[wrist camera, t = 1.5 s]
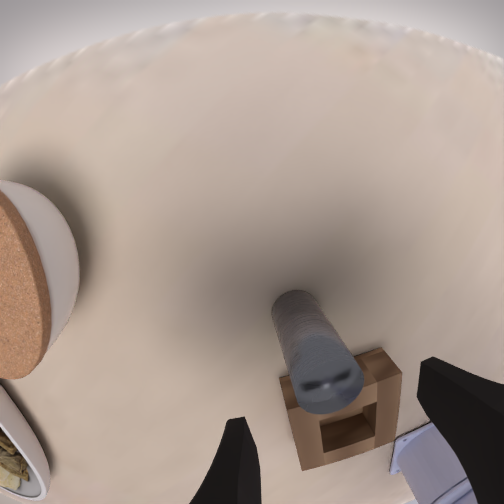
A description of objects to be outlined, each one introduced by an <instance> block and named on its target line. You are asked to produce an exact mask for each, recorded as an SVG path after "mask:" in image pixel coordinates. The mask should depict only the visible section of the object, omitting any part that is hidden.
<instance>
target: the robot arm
mask: <svg viewBox="0 0 504 504" xmlns="http://www.w3.org/2000/svg"><path fill="white" fill-rule="evenodd" d="M417 398H418V400H419V402H420V404H421V406H422V408H423V409H424V411H425V413H426V415H427V416H428V417H429V419H430V420H431V421H432V422H431V423H429V424H427V425H425V426H423V427H421V428H419V429H417V430H415V431H413V432H410V433H408V434H406V435H404V436H402V437H399V438H398V439H397V440H396V441H395V447H394V452H393V457H392V463H391V467H390V475H393V474H396V473H398V472H400V471H402V473H403V475H404V477H405V479H406V481H407V483H408V484H409V486H410V488H411V490H412V492H413V494H414V496H415V498H416V500H417V502H418V503H419V504H504V384H500V383H496V382H493V381H490V380H487V379H485V378H482V377H479V376H477V375H474V374H472V373H469V372H467V371H465V370H462V369H460V368H458V367H456V366H453V365H451V364H449V363H447V362H444V361H442V360H440V359H438V358H435V357H431V358H428V359H426V360H424V361H422V362H421V366H420V375H419V383H418V391H417ZM189 504H261V477H260V465H259V459H258V453H257V447H256V445H255V442H254V440H253V437H252V435H251V432H250V429H249V427H248V424H247V422H246V419H245V417H240V418H234V419H229V420H228V421H227V422H226V426H225V430H224V433H223V436H222V439H221V442H220V445H219V448H218V450H217V453H216V455H215V457H214V460H213V462H212V464H211V467H210V469H209V471H208V473H207V475H206V477H205V479H204V481H203V482H202V484H201V486H200V488H199V489H198V491H197V493H196V494H195V496H194V497H193V499H192V500H191V502H190V503H189Z"/></svg>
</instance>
